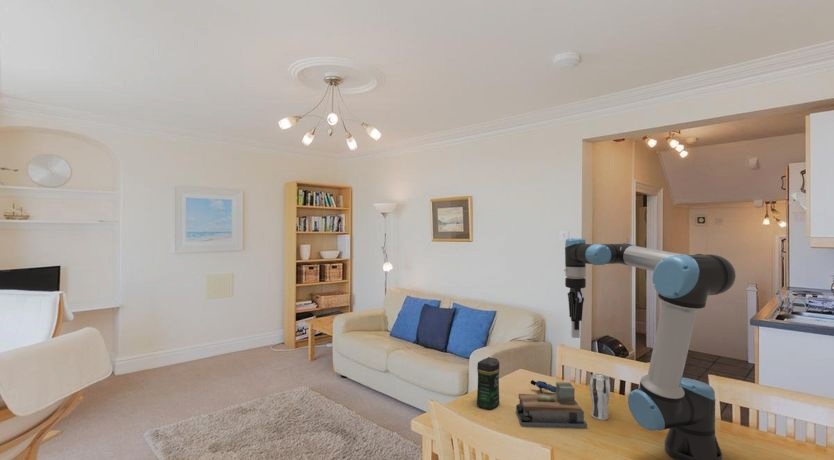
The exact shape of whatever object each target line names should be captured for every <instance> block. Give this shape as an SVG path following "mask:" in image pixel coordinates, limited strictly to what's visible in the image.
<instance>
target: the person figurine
mask: <svg viewBox="0 0 834 460" xmlns="http://www.w3.org/2000/svg"><path fill="white" fill-rule="evenodd" d="M530 384H531V385H532V386H536V387H537V388H538V389H539V390H540V394H544V393H543V390H542V389H544V390H546V391H549V392H552V393H553V394H554V393H555V394H556V385H552V384H549V383H547V382H545V381H541V380H537V381H535V380H534V379H533V380H531V381H530Z"/></svg>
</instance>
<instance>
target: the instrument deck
mask: <svg viewBox="0 0 834 460" xmlns="http://www.w3.org/2000/svg"><path fill="white" fill-rule="evenodd" d="M555 384H556V385H555V387H556V393H555V394H544V393H543V394H541V393H540V394H539V393H537V394H536V393H518V399H519V403H520V402H521V404H522V406H523V409H524V411H543V412H573V413H581V409H582V408H581V406H580V405H579V403H578V402H577V401H576V399H575V397H576V396H575V395H576V394H575V390H576V389H575V387H574V386H573V385H572V383H571V382H565V381H555Z"/></svg>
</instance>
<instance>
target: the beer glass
mask: <svg viewBox="0 0 834 460" xmlns="http://www.w3.org/2000/svg"><path fill="white" fill-rule="evenodd" d="M589 381H590V382H589V392H590V393H589V394H590V399H591V404H592V407H591V408H592V409H591V412H590V414H591V417H592V418H594V419H596V420H599V421H606V420H609V418H610V417H609V411H608V408H609V407H608V405H609V401H610V395H611V385H610V377H609V376H607V375H606V374H599V373H593V374H591V375H590V380H589Z"/></svg>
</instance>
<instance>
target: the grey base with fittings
mask: <svg viewBox="0 0 834 460" xmlns="http://www.w3.org/2000/svg"><path fill="white" fill-rule="evenodd" d="M515 407H516V408H515V413H516V416H517V419H518V421H519V424H520V426H521V427H526V428H529V427H532V428H556V429H557V428H559V429H560V428H561V429H588V424H587V421H585V411H584V410H583V409H582V408H581V413H573V412H543V411H524V409H523V406H522V404H521V402H520V401H519V403H518V404H516V406H515Z"/></svg>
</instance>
